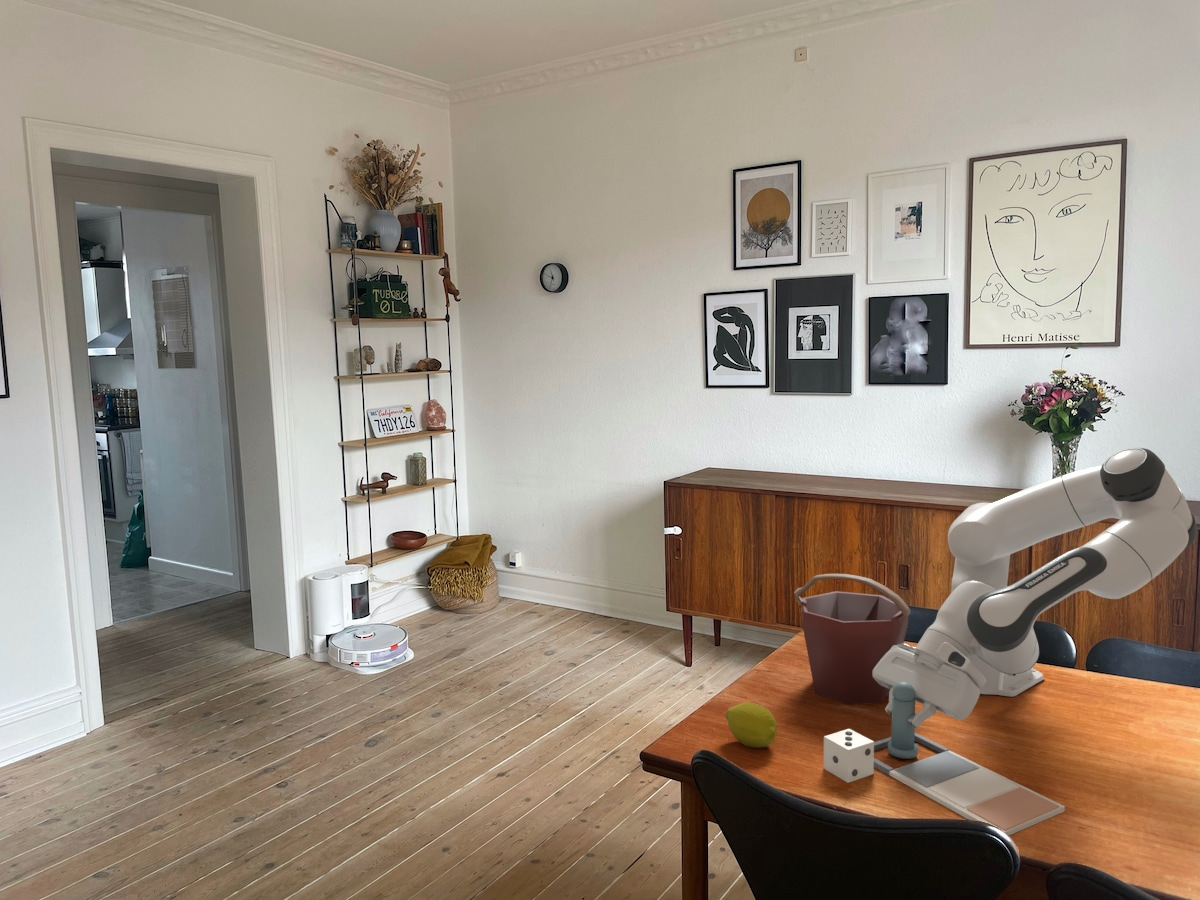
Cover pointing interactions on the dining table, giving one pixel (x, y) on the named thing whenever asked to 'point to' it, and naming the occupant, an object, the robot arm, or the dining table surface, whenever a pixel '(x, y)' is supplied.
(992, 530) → the robot arm
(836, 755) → the die
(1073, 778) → the dining table surface
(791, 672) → the dining table surface
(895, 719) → the pawn
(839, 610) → the bucket
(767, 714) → the lemon
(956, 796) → the game board
